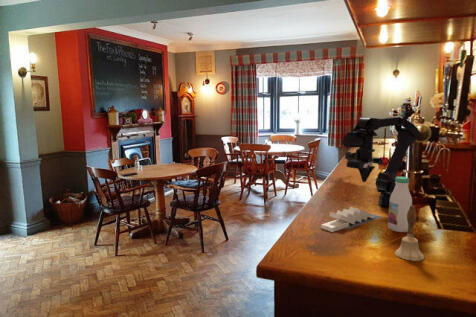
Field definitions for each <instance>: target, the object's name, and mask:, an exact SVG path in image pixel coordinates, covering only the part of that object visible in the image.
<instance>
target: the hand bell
mask: <svg viewBox="0 0 476 317" xmlns="http://www.w3.org/2000/svg"><path fill="white" fill-rule="evenodd" d="M416 220H417V211H416V207H415V205H413V204H412V205H411V206H410V208H409V210H408V213H407V222H408V232H406V233H407V234H406V236H404V237H402V238H401V242H400V246H399V247H398V249H396V250H395V251H394V255H395V256H396V257H397V258H398V259H401V258H402V260H404V259H405V261H409V260H410V261H411V262H420V261H423V260H424V259H425V255H424V254H423V253H422V251H420V246H419V240H418V239H417V238H416V237H414V231H415V230H414V226H415V223H416Z"/></svg>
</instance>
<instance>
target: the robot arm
mask: <svg viewBox="0 0 476 317" xmlns="http://www.w3.org/2000/svg"><path fill="white" fill-rule="evenodd" d="M393 126H394V130H395V132H397V135H396V140H397V144H396V146H395V148H394V150H393V153H392V155H391V157H390V160H389V161H388V164H387V166H386V168H385V170H384V171H383V172H381V171H380V172H378V174H377V176H376V178H375V183H374V184H375V187H376V190H377V193H379V196H378V203H377V206H380V207H382V208H383V209H389V202H390V196H391V194H392V192H393V190H394V188H395V186H396V183H395V178H396V177H398V175H397V174H398V173H399V172H398V171H399V169H400V167H401V165H402V163H403V161H404V158H405V156H406V154H407V151H408V149H409V148H410V146H411V145H412V144H414V143H415V142H416V141H417V139H418V137H419V136H420V130H419V129H418V127H417V126H416V125H415V124H414V123H412V122H411V121H409V120H408V119H407V117H406V116H402V115H395V116H390V117H382V118H381V117H379V118H377V117H359V119H358V121H357V123H356V125H355V126H354V128H353V129H352V131H346V134H345V135H344V137H343V139H342V145H343V146H344V147H345V148H346V149H351V148H355V152H352V151H346V152H345V153H344V154H345V155H344V158H345V160H347V161H346V167H347V168H352V169H356V170H358V172H359V175H360V178H361V182H363V183H366V182H367V180H368V178H369V177H370V175H371V174H372V171H373V170H374V169H375V167H376V166H374V165H373V164H377V165H378V166H380V165H381V166H382V165H383V162H384V161H383V158H382V157H377V156H376V157H374V156H373V152H375V151H376V149H375V148H374V137H377V136H378V133H376V132H375V131H377V130H379V129H381V128H387V127H393Z"/></svg>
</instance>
